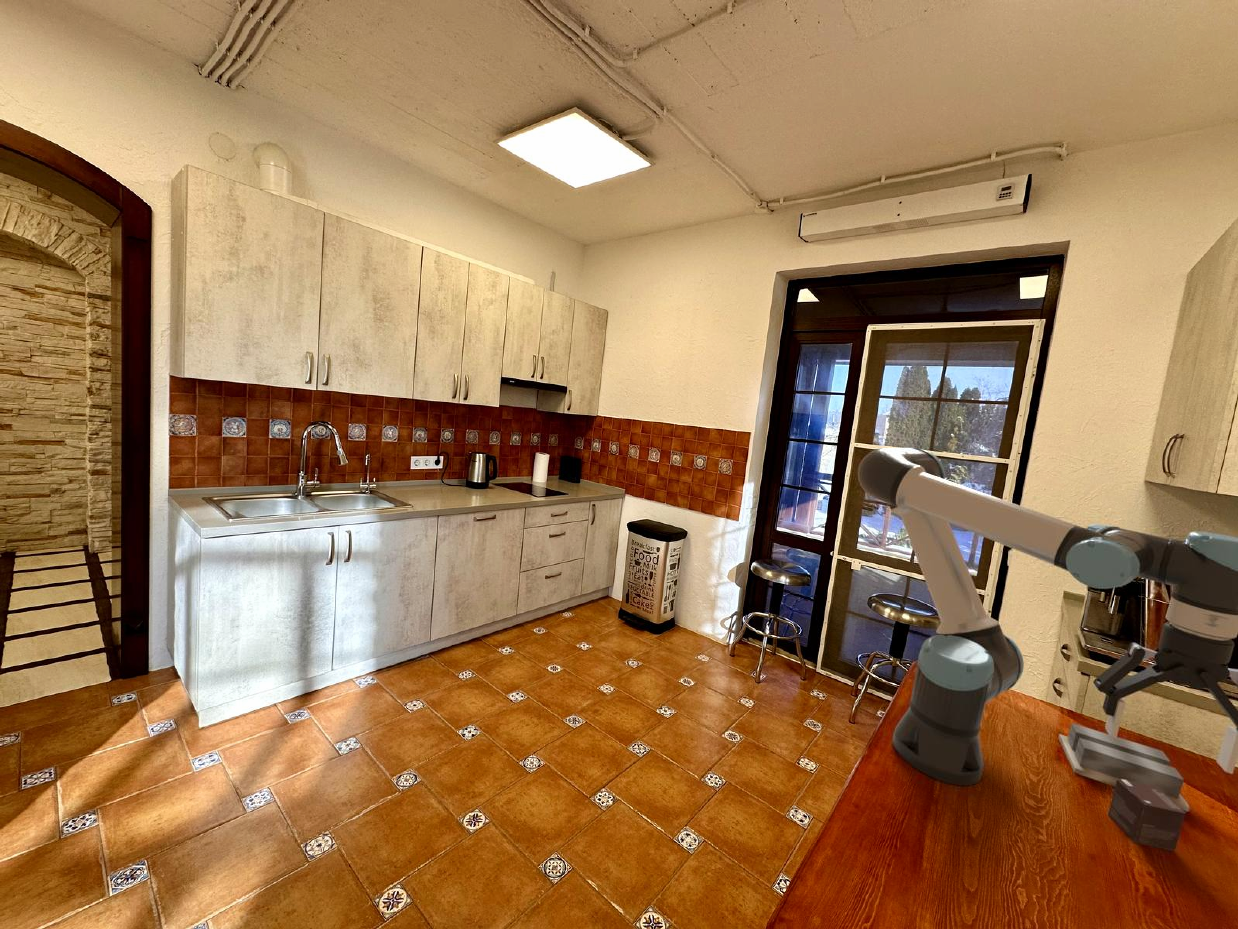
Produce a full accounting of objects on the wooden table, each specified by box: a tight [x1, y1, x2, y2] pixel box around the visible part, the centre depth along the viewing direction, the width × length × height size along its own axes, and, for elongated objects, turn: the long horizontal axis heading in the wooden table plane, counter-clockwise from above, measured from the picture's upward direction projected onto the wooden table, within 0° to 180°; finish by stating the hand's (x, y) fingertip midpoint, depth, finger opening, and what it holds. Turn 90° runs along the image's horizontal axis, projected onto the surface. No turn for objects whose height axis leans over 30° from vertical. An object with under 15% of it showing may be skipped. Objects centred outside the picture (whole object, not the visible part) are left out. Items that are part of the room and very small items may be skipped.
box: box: [1107, 779, 1187, 852], centre depth 85 cm, size 6×6×7 cm
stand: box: [1058, 722, 1190, 813], centre depth 100 cm, size 16×12×5 cm
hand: (1165, 750), depth 83 cm, fingers open, 13 cm apart
